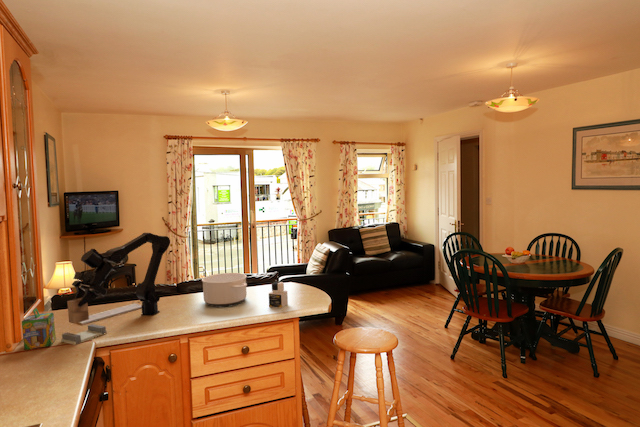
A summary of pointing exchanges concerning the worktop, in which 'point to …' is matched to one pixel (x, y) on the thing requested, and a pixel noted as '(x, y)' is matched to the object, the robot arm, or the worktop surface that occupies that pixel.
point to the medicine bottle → (278, 295)
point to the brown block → (77, 311)
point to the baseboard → (111, 313)
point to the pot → (224, 289)
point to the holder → (84, 334)
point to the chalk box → (38, 330)
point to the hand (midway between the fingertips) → (76, 305)
